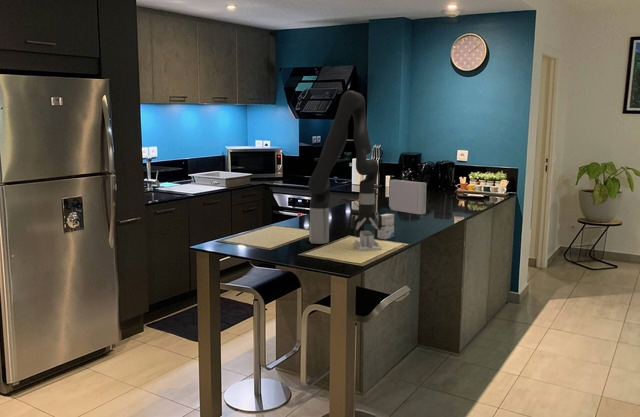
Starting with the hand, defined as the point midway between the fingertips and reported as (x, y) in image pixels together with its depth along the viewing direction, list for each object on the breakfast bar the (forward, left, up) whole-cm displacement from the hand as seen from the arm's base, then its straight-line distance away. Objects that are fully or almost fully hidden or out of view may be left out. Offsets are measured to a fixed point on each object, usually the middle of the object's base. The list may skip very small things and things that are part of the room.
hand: (366, 237), depth 267 cm
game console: (+52, +99, -5) cm, 112 cm away
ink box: (+15, +20, -5) cm, 26 cm away
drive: (0, 0, -4) cm, 4 cm away
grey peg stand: (0, 0, -5) cm, 5 cm away
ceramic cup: (+22, +94, -5) cm, 97 cm away
